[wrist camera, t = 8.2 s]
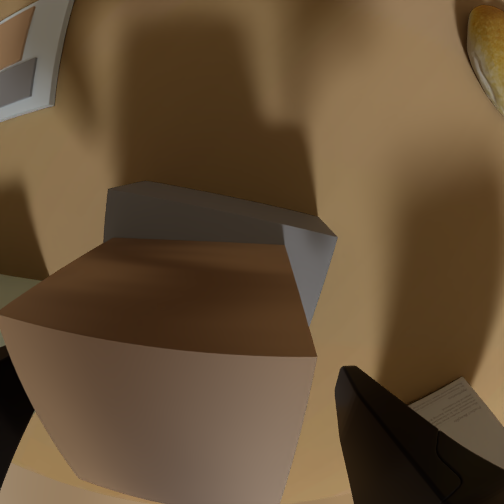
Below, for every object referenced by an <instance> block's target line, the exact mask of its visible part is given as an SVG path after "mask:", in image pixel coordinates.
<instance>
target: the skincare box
mask: <svg viewBox="0 0 504 504" xmlns="http://www.w3.org/2000/svg"><path fill="white" fill-rule="evenodd" d="M408 406H409V407H410V408H411V409H413V410H414V411H415V412H417V413H418V414H419V415H421V416H422V417H423V418H425V419H426V420H427V421H429V422H430V423H431V424H433V425H434V426H435V427H437V428H438V431H439V430H441V431H442V432H444V433H445V434H446V435H448V436H449V437H451V438H452V439H453V440H455V441H456V442H458V443H459V444H461V445H462V446H464V447H465V448H467V449H469V450H470V451H472V452H474V453H475V454H477V455H479V456H481V457H482V458H484V459H486V460H488V461H490V462H491V463H493V464H495V465H497V466H499V467H501V468H503V469H504V427H503V426H502V424H501V423H500V422H499V421H498V419H497V418H496V417H495V415H494V414H493V413H492V412H491V410H490V409H489V408H488V407H487V405H486V404H485V403H484V402H483V400H482V399H481V398H480V397H479V396H478V394H477V393H476V392H475V391H474V390H473V388H472V387H471V386H470V385H469V384H468V382H467V381H466V380H465V379H464V377H460V378H459V379H457V380H455V381H454V382H452V383H450V384H449V385H447V386H445V387H443V388H442V389H440V390H438V391H436V392H434V393H432V394H430V395H428V396H426V397H425V398H423V399H421V400H419V401H417V402H414V403H412V404H410V405H408Z"/></svg>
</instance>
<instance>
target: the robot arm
mask: <svg viewBox="0 0 504 504" xmlns="http://www.w3.org/2000/svg"><path fill="white" fill-rule="evenodd" d="M335 401H336V410H337V419H338V428H339V437H340V443H341V447H342V452H343V456H344V460H345V465H346V469H347V474H348V478H349V483H350V487H351V492H352V497H353V501H354V504H504V469H503V468H501V467H499V466H497V465H495V464H493V463H491V462H490V461H488V460H486V459H484V458H482V457H481V456H479V455H477V454H475V453H474V452H472V451H470V450H469V449H467V448H465V447H464V446H462V445H461V444H459V443H458V442H456V441H455V440H453V439H452V438H451V437H449V436H448V435H446V434H445V433H444V432H442V431H441V430H439V431H438V428H437V427H435V426H434V425H433V424H431V423H430V422H429V421H427V420H426V419H425V418H423V417H422V416H421V415H419V414H418V413H417V412H415V411H414V410H413V409H411V408H410V407H409V406H407V405H406V404H405V403H404V402H402V401H401V400H400V399H398V398H397V397H396V396H394V395H393V394H392V393H390V392H389V391H388V390H387V389H385V388H384V387H383V386H381V385H380V384H379V383H377V382H376V381H375V380H374V379H372V378H371V377H370V376H368V375H367V374H366V373H365V372H363V371H362V370H361V369H359V368H358V367H357V366H343V367H341V369H340V372H339V375H338V379H337V383H336V386H335ZM34 411H35V409H34V408H33V406H32V404H31V402H30V400H29V398H28V396H27V394H26V392H25V390H24V388H23V385H22V383H21V381H20V379H19V377H18V374H17V372H16V370H15V367H14V365H13V363H12V360H11V358H10V355H9V353H8V350H7V347H6V345H5V346H2V347H0V490H1V487H2V484H3V481H4V478H5V476H6V473H7V471H8V468H9V466H10V463H11V461H12V459H13V456H14V454H15V452H16V449H17V447H18V445H19V442H20V440H21V438H22V436H23V434H24V432H25V429H26V427H27V425H28V423H29V421H30V419H31V417H32V415H33V413H34Z"/></svg>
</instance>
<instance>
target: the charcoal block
mask: <svg viewBox="0 0 504 504" xmlns="http://www.w3.org/2000/svg"><path fill="white" fill-rule="evenodd" d="M112 238H138V239H163V240H187V241H211V242H233V243H255V244H275V245H285V247H286V251H287V254H288V257H289V261H290V264H291V267H292V270H293V274H294V277H295V281H296V284H297V287H298V291H299V294H300V298H301V301H302V305H303V308H304V312H305V315H306V319H307V322H308V326H309V325H310V323H311V320H312V317H313V314H314V311H315V308H316V305H317V302H318V299H319V296H320V293H321V290H322V287H323V284H324V281H325V278H326V274H327V271H328V268H329V265H330V262H331V258H332V255H333V252H334V248H335V245H336V241H337V238H338V237H337V236H336V235H335V234H334V233H333V232H332V231H331V230H330V229H329V228H328V227H327V225H326V224H325V223H324V222H323V221H322V220H321V219H320V218H319V217H317V216H313V215H309V214H305V213H301V212H297V211H292V210H288V209H284V208H280V207H275V206H271V205H266V204H262V203H257V202H253V201H248V200H243V199H239V198H234V197H229V196H224V195H219V194H214V193H209V192H204V191H199V190H194V189H189V188H184V187H178V186H173V185H167V184H162V183H156V182H150V181H142V182H137V183H133V184H128V185H123V186H119V187H114V188H110V189H108V194H107V203H106V213H105V225H104V240H103V243H105V242H106V241H108V240H110V239H112Z"/></svg>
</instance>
